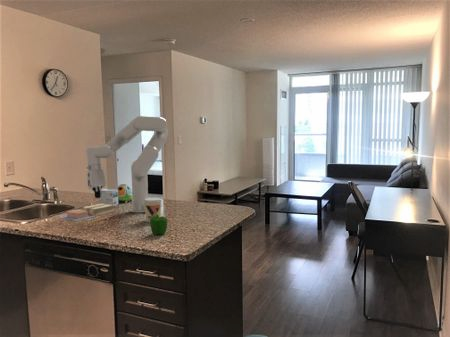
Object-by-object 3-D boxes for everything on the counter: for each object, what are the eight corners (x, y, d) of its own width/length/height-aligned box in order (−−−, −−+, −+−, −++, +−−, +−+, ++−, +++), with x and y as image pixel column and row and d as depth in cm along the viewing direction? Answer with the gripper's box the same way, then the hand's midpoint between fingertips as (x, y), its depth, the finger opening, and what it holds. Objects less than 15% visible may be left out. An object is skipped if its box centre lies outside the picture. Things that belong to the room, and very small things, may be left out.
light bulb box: (118, 205, 259) (118, 189, 258) (113, 206, 253) (112, 190, 252) (104, 204, 262) (103, 188, 261) (98, 206, 255) (98, 190, 254)
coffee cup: (145, 222, 209) (144, 200, 208) (144, 219, 218) (143, 198, 217) (162, 221, 211) (162, 200, 210) (160, 218, 220) (160, 197, 219)
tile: (77, 213, 218) (77, 218, 218) (88, 211, 223) (88, 216, 224) (66, 211, 223) (67, 216, 224) (77, 209, 229) (77, 214, 229)
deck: (114, 211, 237) (114, 205, 237) (95, 216, 226) (94, 209, 226) (101, 209, 244) (101, 203, 244) (82, 213, 233) (82, 207, 232)
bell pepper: (168, 231, 192) (168, 211, 191) (166, 235, 183) (166, 215, 182) (151, 231, 191) (151, 211, 190) (148, 236, 183) (148, 215, 182)
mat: (95, 216, 224) (95, 216, 224) (75, 221, 213) (75, 220, 213) (78, 213, 233) (78, 213, 233) (58, 217, 222) (58, 217, 222)
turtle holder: (137, 198, 282) (136, 182, 281) (128, 203, 264) (127, 186, 263) (120, 198, 283) (119, 182, 282) (110, 203, 265) (110, 186, 264)
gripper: (88, 169, 223) (91, 200, 225) (109, 165, 235) (112, 195, 237) (80, 168, 227) (83, 199, 229) (101, 165, 239) (104, 195, 241)
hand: (97, 197), depth 233 cm, fingers closed
